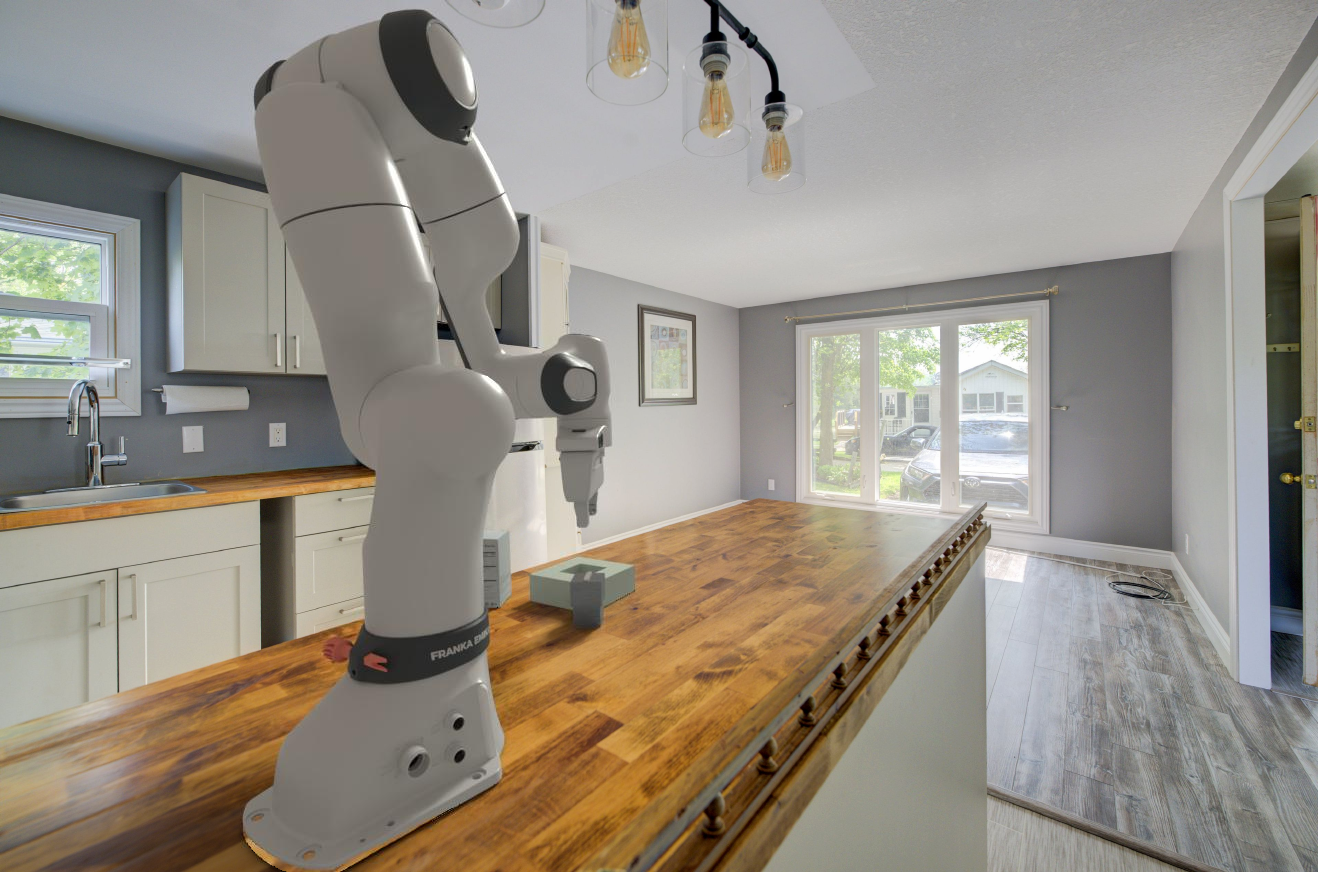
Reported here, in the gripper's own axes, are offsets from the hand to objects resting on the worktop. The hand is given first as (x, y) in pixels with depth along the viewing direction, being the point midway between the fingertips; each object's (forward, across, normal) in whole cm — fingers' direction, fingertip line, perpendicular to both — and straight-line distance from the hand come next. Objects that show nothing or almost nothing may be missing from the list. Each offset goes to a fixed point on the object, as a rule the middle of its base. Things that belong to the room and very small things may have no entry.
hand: (587, 520), depth 91 cm
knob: (+17, 0, 0) cm, 17 cm away
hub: (+17, -13, -3) cm, 21 cm away
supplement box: (+17, -10, -21) cm, 29 cm away
